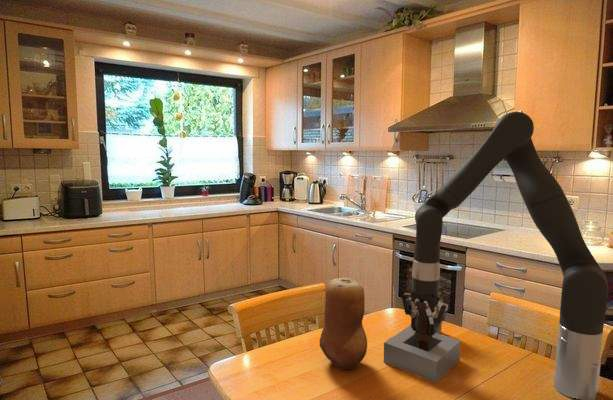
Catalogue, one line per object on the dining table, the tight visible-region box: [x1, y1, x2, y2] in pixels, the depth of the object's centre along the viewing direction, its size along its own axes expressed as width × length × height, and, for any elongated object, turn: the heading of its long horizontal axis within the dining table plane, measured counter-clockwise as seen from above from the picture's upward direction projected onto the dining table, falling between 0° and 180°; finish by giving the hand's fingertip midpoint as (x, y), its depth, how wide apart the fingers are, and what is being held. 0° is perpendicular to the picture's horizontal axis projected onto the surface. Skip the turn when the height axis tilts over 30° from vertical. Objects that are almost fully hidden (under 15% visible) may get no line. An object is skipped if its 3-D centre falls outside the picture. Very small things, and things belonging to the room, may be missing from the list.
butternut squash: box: [319, 277, 368, 370], centre depth 117 cm, size 14×13×25 cm
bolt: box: [413, 301, 432, 351], centre depth 119 cm, size 6×5×15 cm
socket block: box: [383, 324, 461, 384], centre depth 120 cm, size 16×16×6 cm
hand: (423, 332), depth 120 cm, fingers closed on bolt, 4 cm apart
